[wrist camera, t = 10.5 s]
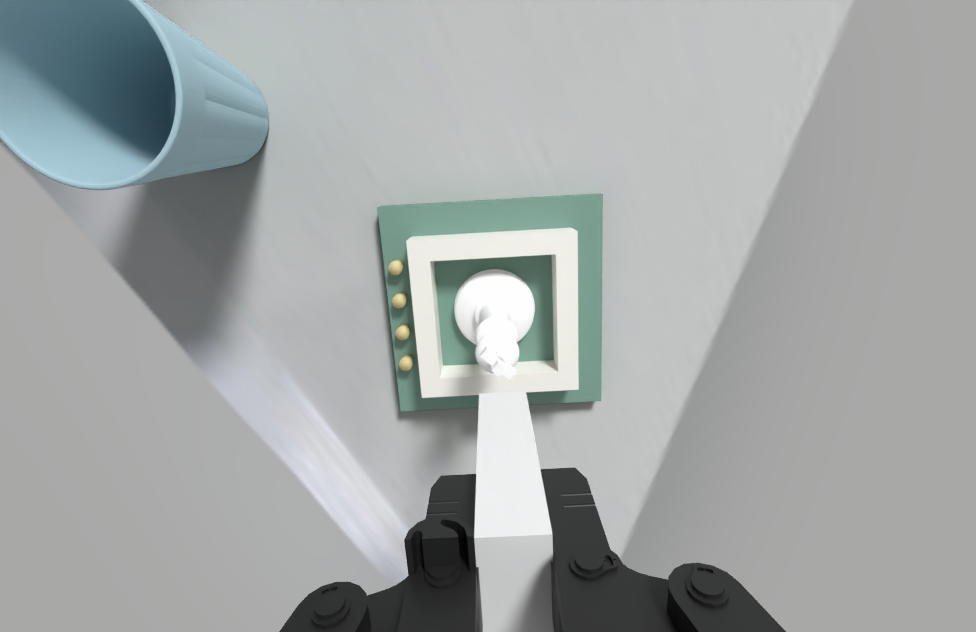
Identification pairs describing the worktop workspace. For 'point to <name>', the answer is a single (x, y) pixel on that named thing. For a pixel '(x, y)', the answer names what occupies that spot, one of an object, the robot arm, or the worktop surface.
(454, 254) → the header board
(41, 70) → the cup
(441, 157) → the worktop surface
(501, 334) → the chess piece
